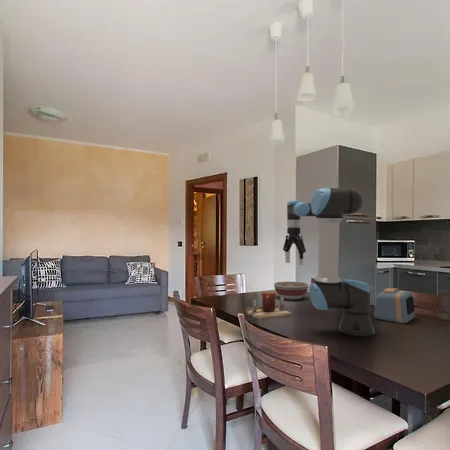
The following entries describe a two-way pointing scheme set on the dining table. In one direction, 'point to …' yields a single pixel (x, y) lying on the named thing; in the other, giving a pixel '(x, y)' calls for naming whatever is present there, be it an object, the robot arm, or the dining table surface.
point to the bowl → (291, 289)
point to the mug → (268, 301)
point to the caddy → (260, 314)
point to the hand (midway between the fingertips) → (293, 263)
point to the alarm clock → (394, 306)
